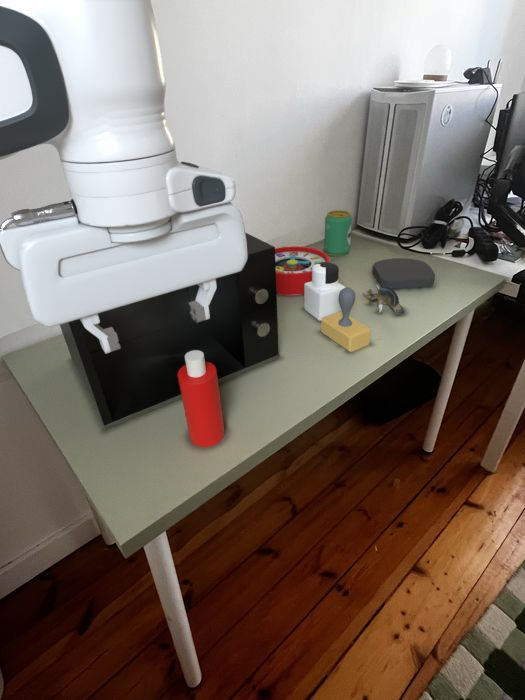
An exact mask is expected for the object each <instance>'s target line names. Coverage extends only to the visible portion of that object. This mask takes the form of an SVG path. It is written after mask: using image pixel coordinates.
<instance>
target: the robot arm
mask: <svg viewBox="0 0 525 700" xmlns="http://www.w3.org/2000/svg"><path fill="white" fill-rule="evenodd" d="M160 44H161V43H160V39H159V33H158V29H157V23H156V18H155V13H154V10H153V5H152V1H151V0H0V161H1V160H6V159H8V158H10V157H12V156H14V155H16V154H18V153H19V152H21V151H25V150H28V149H31V148H33V147H36V146H41V145H51V146H53V147H54V148H55V149H56V150H57V153H58V156H59V157H58V158H59V159H60V164H61V168H62V171H63V174H64V178H65V181H66V185H67V189H68V191H69V195H70V197H71V199H70V200H66V201H62V202H61V201H60V202H56V203H51V204H47V205H44V206H41V207H37V208H22V209H18V210H16V211H13V212H11V214H10V215H11V217H9V218H7V219H5V220H4V221H3V222H2V223H1V224H0V250H1V254H2V255H3V258H4V260H5V261H6V263H7V264H8V265H9V266H10V267H12V268H13V269H15V270H17V271H18V273H19V277H20V282H21V286H22V289H23V293H24V296H25V299H26V302H27V305H28V308H29V311H30V313H31V316H32V318H33V320H34V321H35V322H37V323H39V324H40V325H41V326H44V327H46V328H52V327H57V326H60V324H64V323H67V322H70V321H74V320H77V319H80V320H81V322H82V324H83V326H84V327H85V328H86V329H87V330H88V331H90V332H91V333H92V334H93V335H95V336H96V337H97V338H99V341H100V344H101V346H102V349H103V350H104V352H105V354H107V353H110V352H113V351H115V350H118V349H121V346H120V344H119V342H118V341H119V339H118V336H117V334H116V332H115V331H114V329H113V328H112V327H110V328H106V329H103V328H102V327H100V326H99V325H98V323H100V320H99V316H98V313H101V312H104V311H108V310H111V309H114V308H118V307H121V306H125V305H128V304H131V303H135V302H138V301H142V300H145V299H148V298H152V297H155V296H158V295H162V294H165V293H169V292H172V291H175V290H179V289H182V288H186V287H189V286H192V285H196V284H197V285H199V286H200V287H199V290H198V293H197V296H196V299H195V300H196V301H193V302H190V303H188V304H189V309H190V310H191V311H190V315H191V318H192V319H193V320H195V322H196V323H198V322H201V321H204V320H207V319H210V314H209V306H208V305H210V302H211V300H212V298H213V295H214V293H215V291H216V288H217V285H216V278H220V277H223V276H226V275H230V274H233V273H237V272H240V271H241V270H242V269H243V268H244V266H245V264H246V262H247V259H248V251H247V241H246V234H245V232H246V228H245V222H244V218H243V215H242V212H241V210H240V209H239V207H238V206H237V205H236V204H235V203H233V202H232V201H233V200H234V199H235V197H236V192H237V191H236V190H237V189H236V182H235V179H234V178H233V177H232V176H230V175H228V174H226V173H223V172H221V171H218V170H216V169H212V168H208V167H206V166H200V165H197V164H195V163H191V162H188V161H181V162H180V161H178V156H177V148H176V143H175V140H174V136H173V134H172V133H171V130H170V127H169V124H168V121H167V115H166V108H165V107H166V105H165V100H166V93H167V92H166V90H167V81H166V76H165V68H164V62H163V56H162V50H161V45H160ZM12 224H14V226H13V225H12ZM10 225H12V226H10Z"/></svg>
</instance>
